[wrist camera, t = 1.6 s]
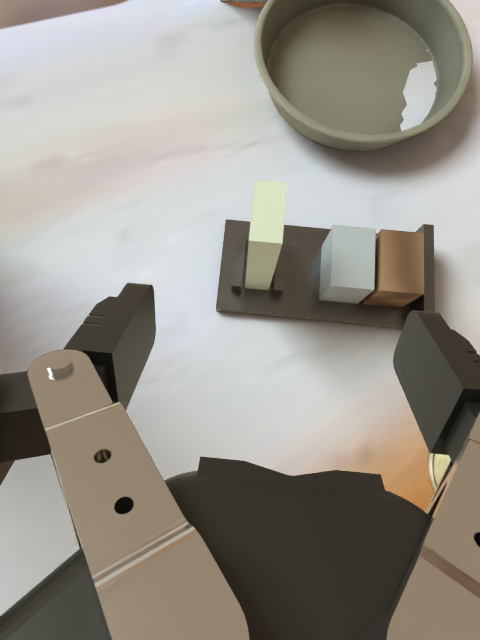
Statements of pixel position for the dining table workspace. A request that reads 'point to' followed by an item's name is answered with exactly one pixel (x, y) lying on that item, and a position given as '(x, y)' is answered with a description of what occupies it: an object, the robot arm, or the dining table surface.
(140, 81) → the dining table surface
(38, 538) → the dining table surface
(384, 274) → the offcut
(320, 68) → the cake pan
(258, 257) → the pale green block
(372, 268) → the offcut
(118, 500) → the robot arm
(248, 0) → the coffee box
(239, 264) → the rack
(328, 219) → the dining table surface
